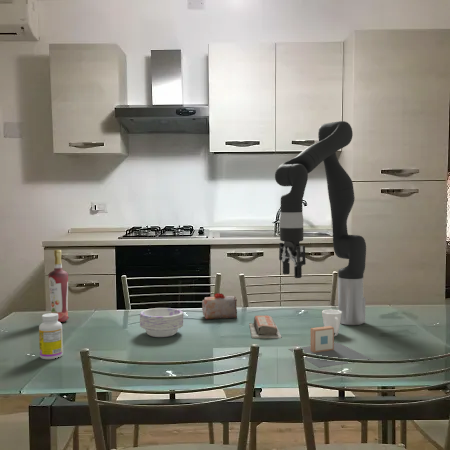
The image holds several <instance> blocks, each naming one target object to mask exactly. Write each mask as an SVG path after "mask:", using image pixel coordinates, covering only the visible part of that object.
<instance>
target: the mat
mask: <svg viewBox="0 0 450 450" xmlns="http://www.w3.org/2000/svg"><path fill="white" fill-rule="evenodd" d="M302 348H303V350H304V352H305V353H311V354H316V355H322V356H328V357H338V358H349V359H369V360H368V361H372V360H374V359H373V358H371V357H369V356H367V355H365V354H362V353H360V352H359V351H357V350H354V349H352V348H351V347H348V346H346V345H344V344H343V343H339V342H334V350H329V351H322V352H312V351H311V345H309V346H303V347H302ZM288 350H289V351H291V352H292V353H294V352H293V348H288ZM304 360H305V361H307V362H309V363H311V364H312V365H314V366H316V367H318V368H319V369H320V368H326V367H331V366H332V367H333V366H339V365H347V364H349V363H348V362H335V361H327V360H320V359H313V358H307V357H305V359H304Z"/></svg>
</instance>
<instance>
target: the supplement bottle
mask: <svg viewBox="0 0 450 450" xmlns="http://www.w3.org/2000/svg"><path fill="white" fill-rule="evenodd" d="M58 318H59V317H58V314H57V313H51V312H49V313H43V314H42V315H41V320H42V322H41V324H39V325H38V336H39V337H38V339H39V340H38V341H39V344H38V345H39V357H40V359H42V360H56V359H58V357H59V358H60V357H62V356H63V354H64V345H63V344H64V343H63V341H64V340H63V325H62V324H63V323H60V322H58ZM55 358H56V359H55Z"/></svg>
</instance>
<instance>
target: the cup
mask: <svg viewBox="0 0 450 450" xmlns="http://www.w3.org/2000/svg"><path fill="white" fill-rule="evenodd" d="M341 314H342V311H339V310H338V309H330V308H329V309H323V310H322V311H321V315H322V322H323V327H325V326H332V327H334V337H337V336H338V335H339V332H340V325H341V323H340V320H341Z"/></svg>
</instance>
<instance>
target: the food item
mask: <svg viewBox="0 0 450 450" xmlns="http://www.w3.org/2000/svg"><path fill="white" fill-rule="evenodd" d="M237 301H238V300H237V298H236V296H234V295H224V293H220V292H218V293H217V292H216V293H215V294H214V296H206V297H204V299H202V301H201V308H202V310H201V311H202V314H203V317H204V318H205V320H221V319H223V320H224V319H237V318H238V310H237Z"/></svg>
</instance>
